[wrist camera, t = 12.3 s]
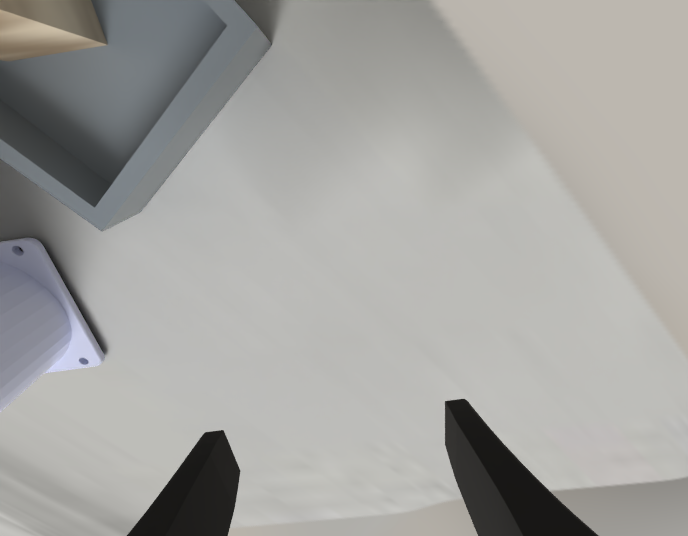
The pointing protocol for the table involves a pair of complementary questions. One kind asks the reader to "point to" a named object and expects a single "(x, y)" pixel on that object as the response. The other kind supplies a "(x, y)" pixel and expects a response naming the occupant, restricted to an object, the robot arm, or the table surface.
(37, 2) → the block
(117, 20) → the tray
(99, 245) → the table surface
